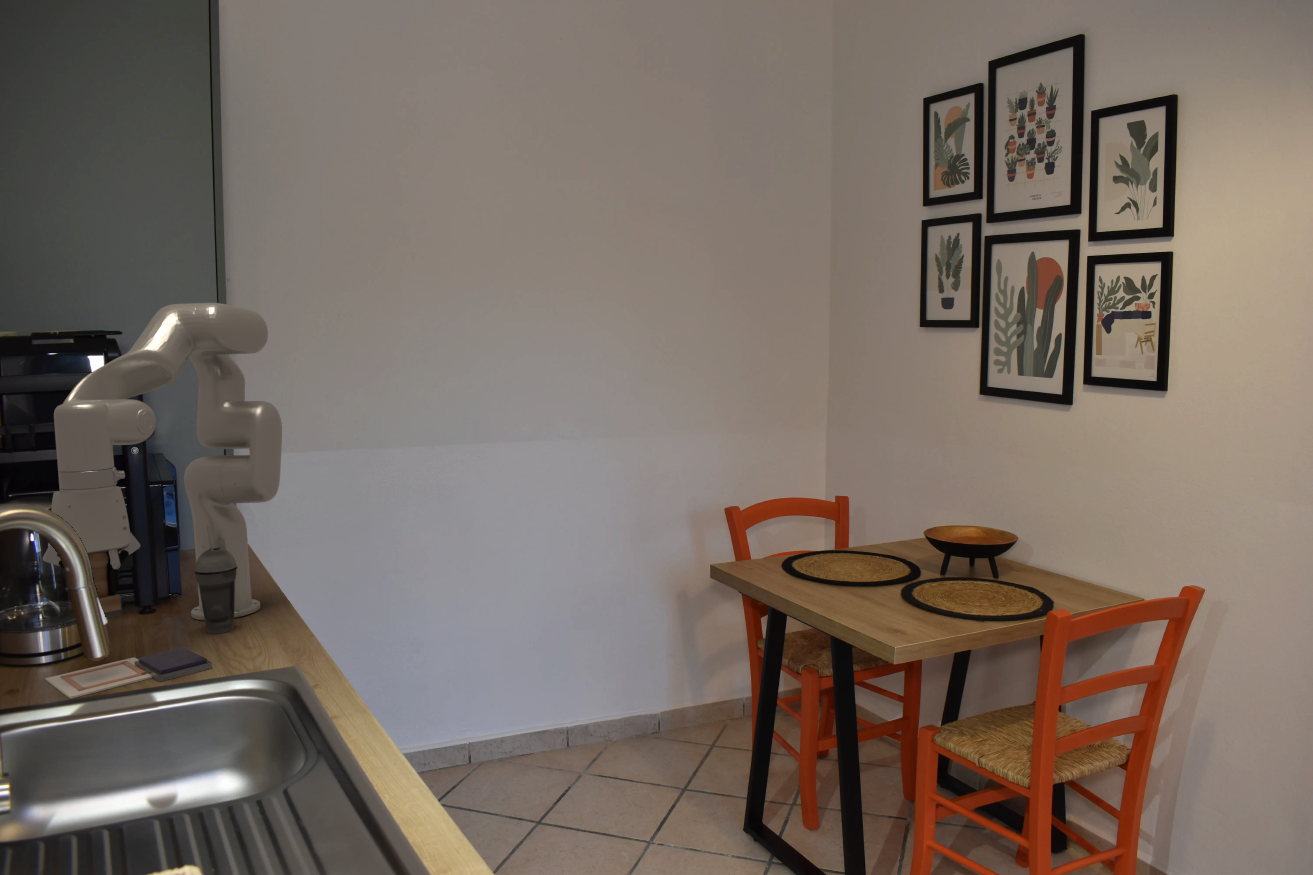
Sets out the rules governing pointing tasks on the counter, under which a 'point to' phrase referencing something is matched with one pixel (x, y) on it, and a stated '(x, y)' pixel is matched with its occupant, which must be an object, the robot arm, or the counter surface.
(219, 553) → the beverage cup
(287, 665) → the counter surface
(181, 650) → the ink pad
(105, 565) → the stamp
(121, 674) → the print card
